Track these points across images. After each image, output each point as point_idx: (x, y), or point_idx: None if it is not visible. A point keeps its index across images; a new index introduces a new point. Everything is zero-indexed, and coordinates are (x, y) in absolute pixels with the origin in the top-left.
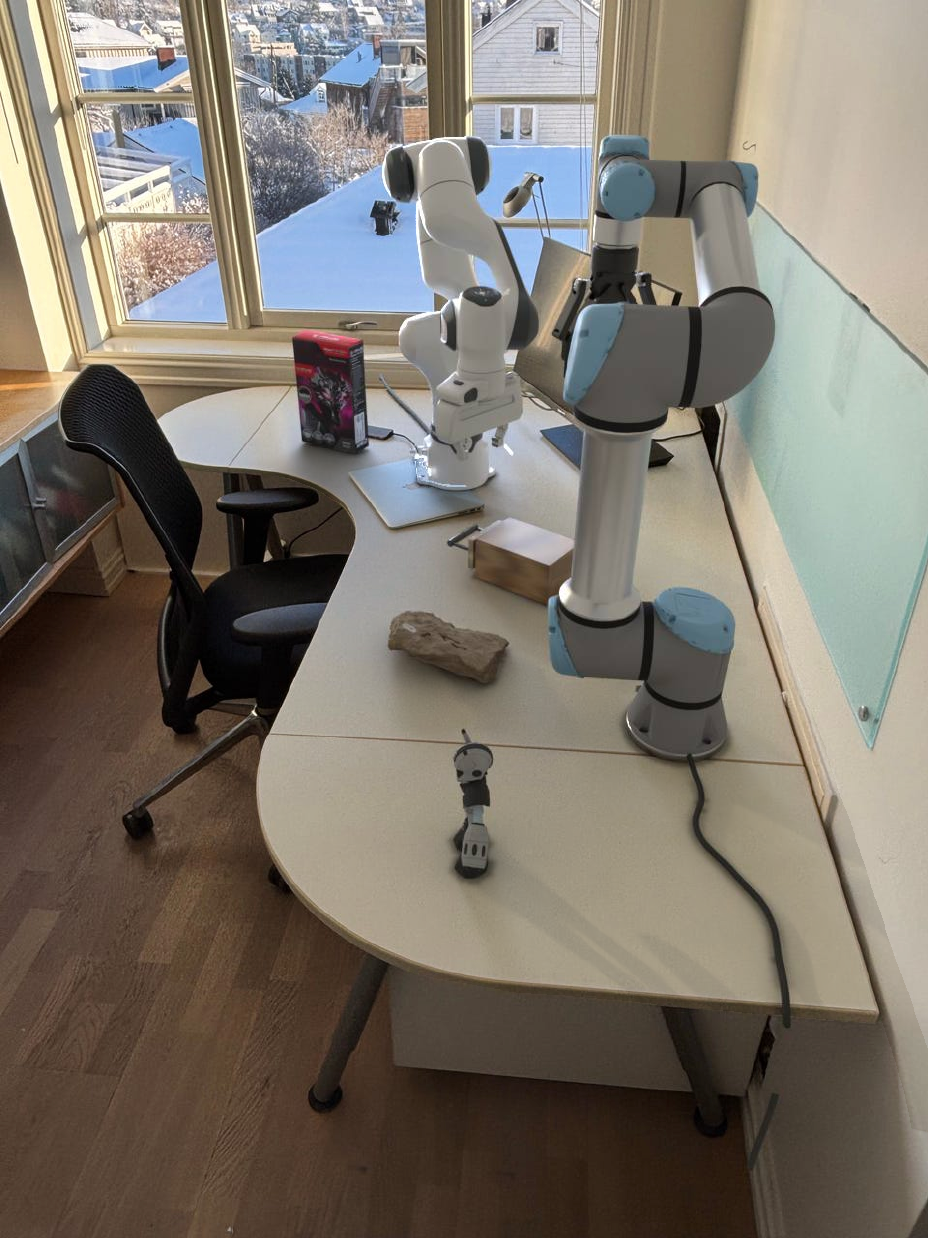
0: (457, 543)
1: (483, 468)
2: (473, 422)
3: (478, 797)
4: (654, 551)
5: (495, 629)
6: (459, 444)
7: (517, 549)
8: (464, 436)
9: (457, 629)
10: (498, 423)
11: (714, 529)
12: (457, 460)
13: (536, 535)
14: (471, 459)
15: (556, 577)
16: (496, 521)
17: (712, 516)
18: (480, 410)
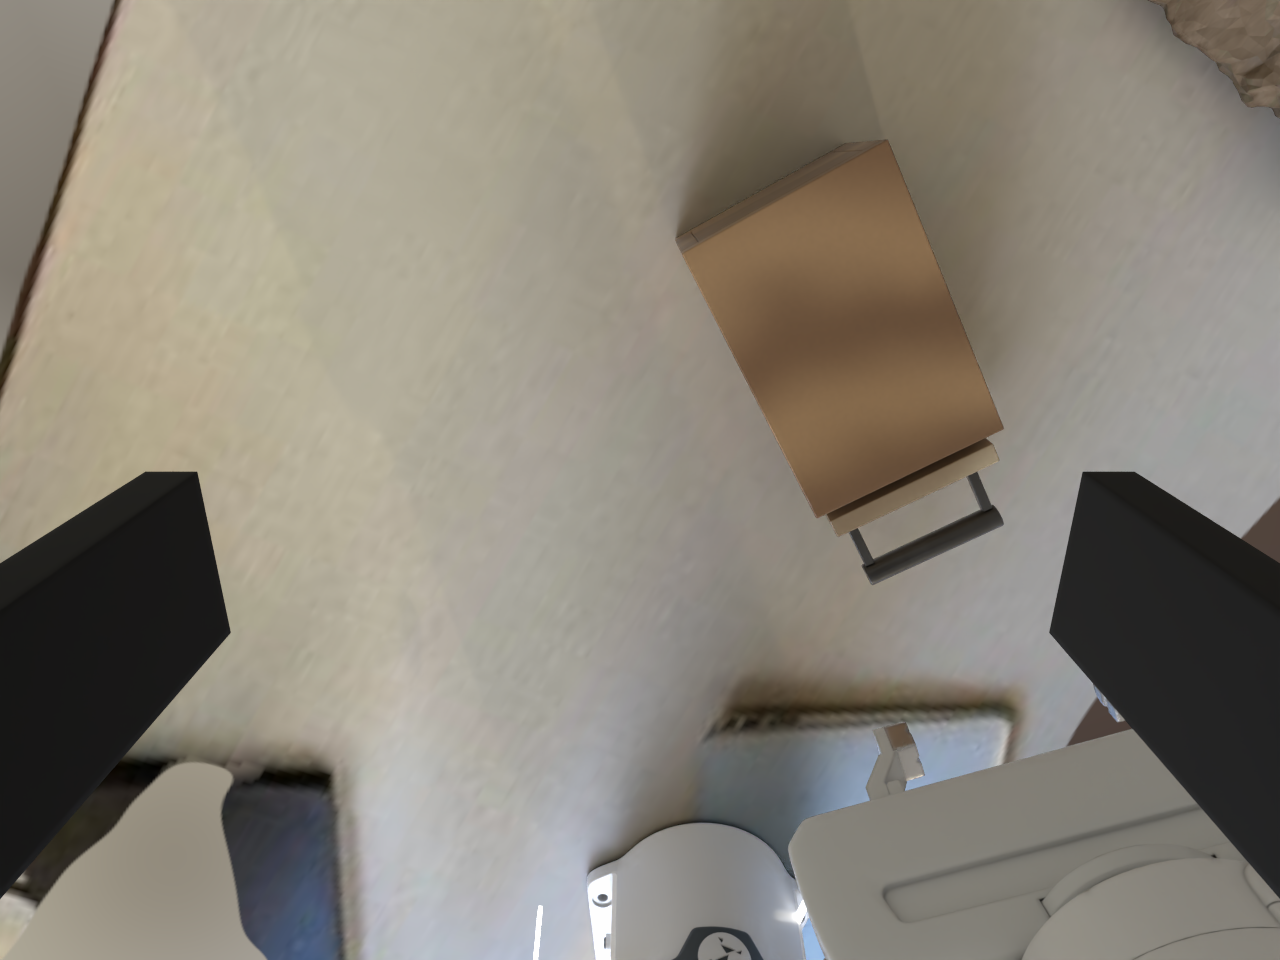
0: (983, 500)
1: (641, 881)
2: None
3: None
4: (347, 301)
5: (1066, 82)
6: None
7: (921, 300)
8: None
9: (1260, 41)
10: (969, 785)
11: (79, 346)
12: (739, 911)
13: (804, 365)
14: (693, 906)
15: (819, 167)
16: (851, 527)
17: (47, 424)
18: (1156, 835)
